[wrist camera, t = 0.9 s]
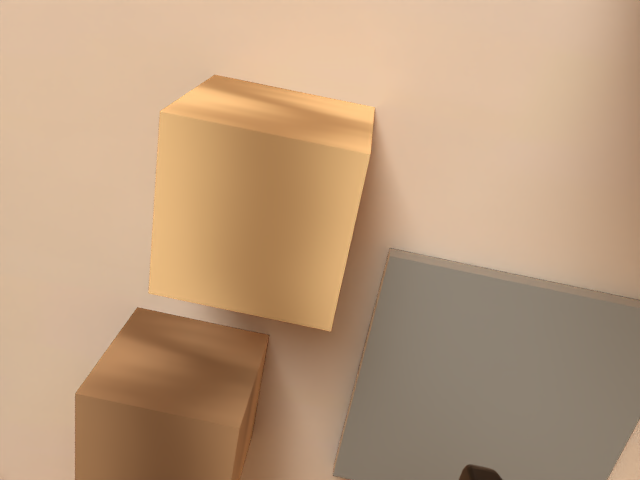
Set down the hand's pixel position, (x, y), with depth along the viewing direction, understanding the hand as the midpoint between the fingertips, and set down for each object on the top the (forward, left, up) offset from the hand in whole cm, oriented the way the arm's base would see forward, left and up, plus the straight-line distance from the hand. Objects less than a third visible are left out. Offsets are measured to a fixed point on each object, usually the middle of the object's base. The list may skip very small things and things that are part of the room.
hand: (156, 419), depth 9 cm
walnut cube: (-2, -9, -12) cm, 15 cm away
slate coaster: (+9, -7, -12) cm, 16 cm away
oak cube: (0, 0, -12) cm, 12 cm away
